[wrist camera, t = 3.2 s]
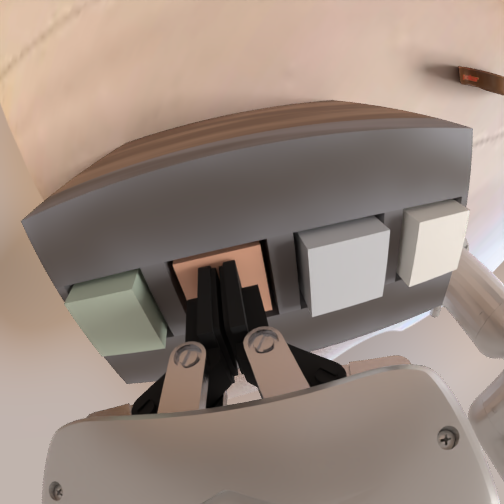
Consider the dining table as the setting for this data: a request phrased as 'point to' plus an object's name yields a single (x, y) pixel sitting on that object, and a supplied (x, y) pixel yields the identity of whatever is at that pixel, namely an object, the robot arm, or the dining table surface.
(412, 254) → the cream key
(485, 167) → the dining table surface
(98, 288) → the sage key
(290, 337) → the console
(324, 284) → the grey key
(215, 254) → the terracotta key
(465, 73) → the tin
